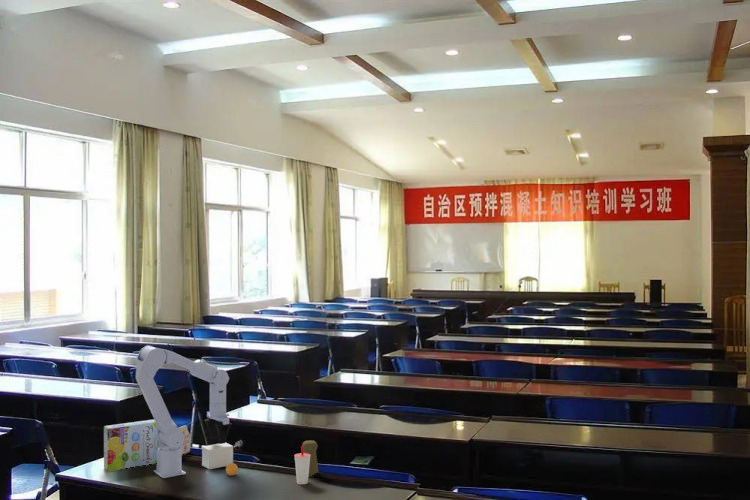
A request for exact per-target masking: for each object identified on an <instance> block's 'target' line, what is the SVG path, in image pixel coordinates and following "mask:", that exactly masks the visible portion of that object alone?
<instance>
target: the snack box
mask: <svg viewBox="0 0 750 500" xmlns="http://www.w3.org/2000/svg"><path fill="white" fill-rule="evenodd" d="M160 444H161V442H160V441H159V440H158V438H157V429H156V422H155V420H154V419H147V420H140V421H139V420H138V421H134V422H133V421H132V422H126V423H125V422H124V423H118V424H117V423H116V424H111V425H104V426H103V469H104V470H105V469H106V470H105V471H106V472H108V473H110V472H115V470H116V471H120V469H122V470H126V469H125V468H128V469H131V468H130V467H134V468H136V467H135V466H140V467H143V466H142V465H146V466H150V465H149V464H152V465H157V464H156V463H157V451H158V449H159V448H160Z"/></svg>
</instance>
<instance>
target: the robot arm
mask: <svg viewBox="0 0 750 500" xmlns="http://www.w3.org/2000/svg"><path fill="white" fill-rule="evenodd" d="M164 364H165V365H168V364H174V365H176V366H179V367H180V368H181V367H182V368H184V369H187V370H189V372H190V375H191V376H193V377H196V378H198V379H201V380H203V381H205V382H208V384H209V411H206V417H207V418H206V419H204V424H205V425H206V428H207V432H208V435H209V439H210V440H217V439H218V444H223V443H227V439H228V438H227V437H228V434H229V431H230V429H231V427H232V424H233V423H231V422H230V418H229V416H230V413H227V384H228V383H229V380H230V376H229V374H228V372H227V371H226V370H224V369H222V368H218V365H216V364H213V365H212V364H210V363H208V362H207V361H206V360H205V359H204V358H203V359H196V360H191V359H189V358H187V357H185V356H182V355H181V354H178V353H176V352H174V351H171V350H167V349H164V348H160V347H155V346H153V345H145V346H144V347H142V348H141V349H140V350H139V352H138V354H137V356H136V367H135V368H136V369H135V381H136V382H137V384H138V387H139V388H140V392H141V393H142V395H143V397H144V400H145V402H146V404H147V406H148V409H149V410H150V413H151V415H152V417H153V420H155V422H156V429H157V438H158V440H159V441H160V442H161V444H160V448H159V449H158V451H157V464H156V469H154V470H153V473H155V474H156V475H158V476H159V477H161V478H162V479H166V478H167V479H168V478H172V477H173V478H174V477H177V476H182V475H186V474H187V472H186V471H184V470H182V460H183V459H182V456H183V455H182V444H183V442H184V434H183V432H182V431H180V430H179V429H178V428H179V427H178V426H177V424H176V423H175V422H174V420H173V419H172V417H171V414H170V412H169V410H168V407H167V406H166V403H165V402H164V399H163V397H162V395H161V393H160V391H159V389H158V386H157V383H156V381H155V379H154V377H155V376H156V374H157V372H158V371H159V369H160V368H161V367H163V365H164Z"/></svg>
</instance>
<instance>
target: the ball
mask: <svg viewBox="0 0 750 500" xmlns="http://www.w3.org/2000/svg"><path fill="white" fill-rule="evenodd" d="M238 471H239V467H238V465H237V464H236V463H235V462H233V463H230V464H229V465H228V466H225V472H226V474H227V475H228V476H230V477H231V476H235V475H236V474H237V473H238Z"/></svg>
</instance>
